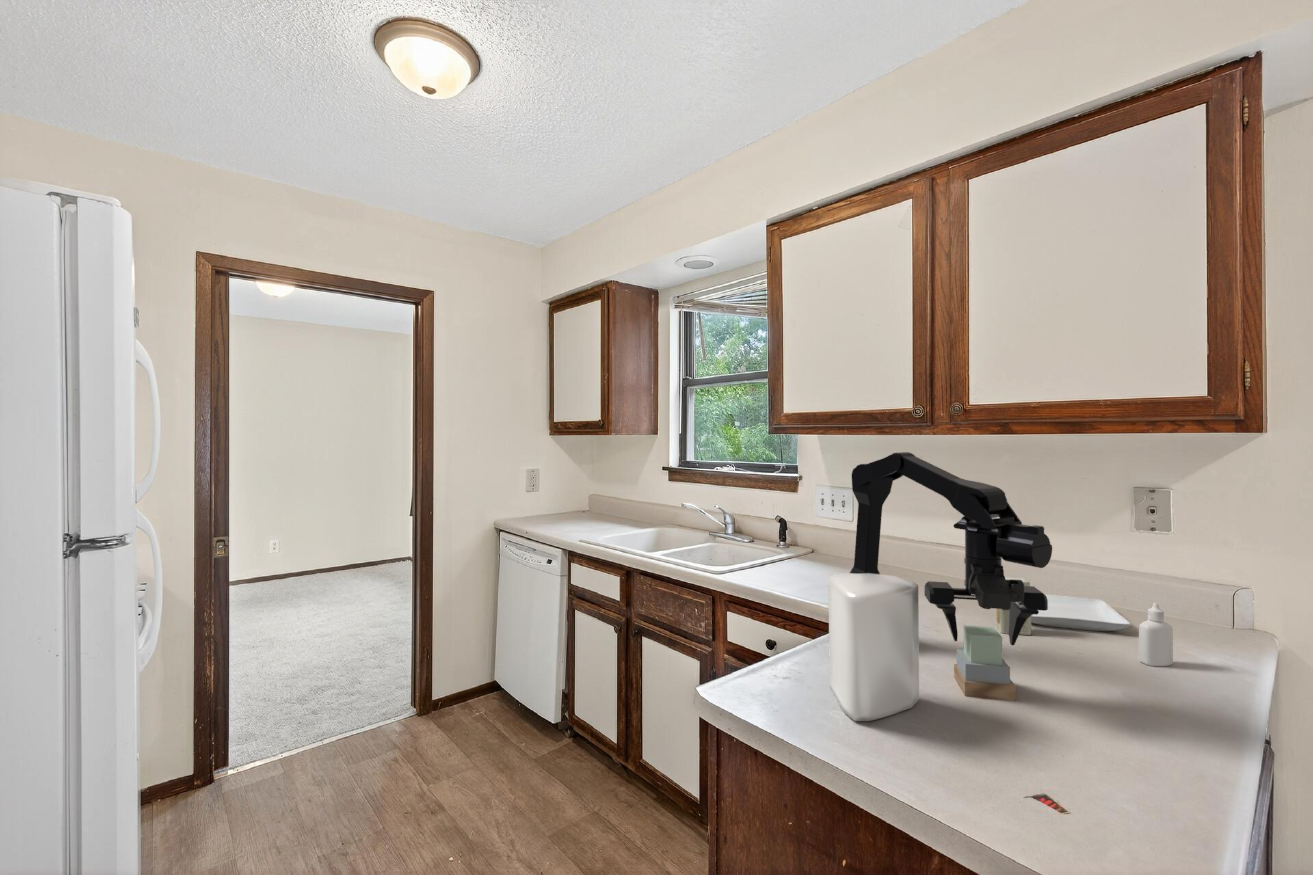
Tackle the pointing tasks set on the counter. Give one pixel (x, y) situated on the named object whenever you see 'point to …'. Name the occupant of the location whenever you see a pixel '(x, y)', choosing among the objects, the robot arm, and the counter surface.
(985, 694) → the tower base
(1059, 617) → the salad plate
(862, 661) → the white triangular prism
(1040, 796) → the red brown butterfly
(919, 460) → the robot arm
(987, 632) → the stack block
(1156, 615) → the eye dropper bottle
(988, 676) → the blue-grey square block
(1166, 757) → the counter surface
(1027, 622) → the skincare box
